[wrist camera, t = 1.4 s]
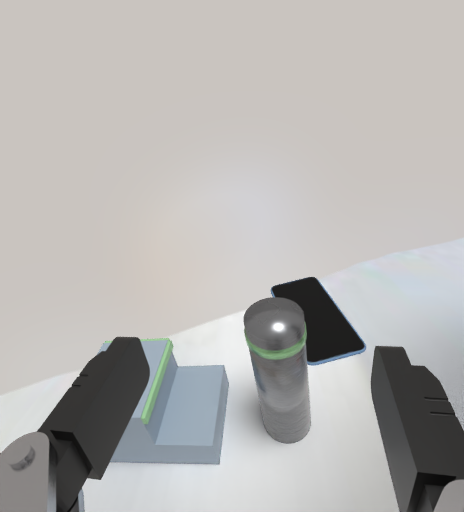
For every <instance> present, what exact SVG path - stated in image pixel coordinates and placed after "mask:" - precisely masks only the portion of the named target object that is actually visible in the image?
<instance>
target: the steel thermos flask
mask: <svg viewBox="0 0 464 512" xmlns="http://www.w3.org/2000/svg"><path fill="white" fill-rule="evenodd" d="M244 325H245V329H244V332H245V337H246V342H247V345H248V347H249V351H250V356H251V361H252V366H253V371H254V376H255V381H256V386H257V391H258V396H259V401H260V406H261V411H262V416H263V421H264V426H265V429H266V431H267V432H268V434H269V435H270V436H271V437H272V438H274V439H275V440H277V441H279V442H282V443H295V442H298V441H300V440H301V439H303V438H304V437H305V436H306V435H307V433H308V431H309V429H310V425H311V417H310V401H309V385H308V369H307V354H306V339H307V332H306V323H305V321H304V313H303V310H302V309H301V307H300V306H299V305H298V304H297V303H295V302H293V301H291V300H289V299H285V298H279V297H273V298H266V299H262V300H260V301H258V302H256V303H254V304H253V305H251V306H250V307H249V308H248V309H247V311H246V313H245V315H244Z"/></svg>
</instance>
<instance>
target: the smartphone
mask: <svg viewBox="0 0 464 512" xmlns="http://www.w3.org/2000/svg"><path fill="white" fill-rule="evenodd" d="M271 294H272V296H273V297H279V298H285V299H289V300H291V301H293V302H295V303H297V304H298V305H299V306H300V307H301V309H302V310H303V313H304V321H305V323H306V332H307V339H306V354H307V364H308V365H319V364H322V363H325V362H329V361H334V360H336V359H339V358H345V357H348V356H351V355H352V356H353V355H355V354H360V353H362V352H364V351H365V350H366V345H365V343H364V341H363V340H362V339H361V337H360V336H359V335H358V333H357V332H356V330H355V329H354V328H353V326H352V325H351V324H350V322H349V321H348V320H347V318H346V317H345V316H344V314H343V313H342V312H341V310H340V309H339V307H338V306H337V305H336V303H335V302H334V301H333V299H332V298H331V296H330V295H329V294H328V292H327V291H326V290H325V288H324V287H323V286H322V284H321V283H320V282H319V280H318V279H316V278H315V277H308V278H304V279H300V280H296V281H292V282H287V283H283V284H279V285H276V286H273V287H272V288H271Z"/></svg>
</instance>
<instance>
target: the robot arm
mask: <svg viewBox="0 0 464 512" xmlns="http://www.w3.org/2000/svg"><path fill="white" fill-rule="evenodd" d="M149 377H150V367H149V364H148V361H147V358H146V356H145V353H144V350H143V347H142V344H141V341H140V339H139V338H136V337H116V338H115V339H114V340H113V341H112V343H111V344H110V345H109V347H108V348H107V350H106V351H101V352H100V353H99V354H98V355H96V356H95V357H94V358H93V359H92V360H90V361H89V362H88V363H87V365H86V366H85V368H84V369H83V370H82V372H81V373H80V376H79V377H77V378H76V380H75V381H74V382H73V384H72V387H70V388H69V389H68V391H67V392H66V393H65V395H64V396H63V397H62V399H61V400H60V401H59V403H58V404H57V405H56V407H55V408H54V409H53V411H52V412H51V414H50V415H49V416H48V418H47V419H46V420H45V422H44V423H43V424H42V426H41V427H40V428H39V429H38V431H37V432H33V433H29V434H26V435H24V436H22V437H20V438H18V439H17V440H15V441H14V442H12V443H11V444H10V445H9V446H8V447H7V448H5V450H4V451H3V452H2V453H0V512H85V510H84V495H83V490H82V486H83V485H84V483H85V481H86V479H87V478H91V479H98V480H101V478H102V476H103V474H104V472H105V470H106V468H107V466H108V464H109V462H110V460H111V458H112V456H113V454H114V452H115V450H116V448H117V446H118V444H119V442H120V440H121V438H122V436H123V433H124V431H125V429H126V427H127V425H128V423H129V421H130V419H131V417H132V415H133V413H134V411H135V409H136V407H137V405H138V403H139V401H140V399H141V397H142V395H143V393H144V391H145V389H146V387H147V384H148V382H149ZM371 393H372V399H373V404H374V408H375V412H376V416H377V420H378V424H379V428H380V433H381V437H382V441H383V445H384V449H385V453H386V457H387V461H388V466H389V470H390V474H391V478H392V482H393V486H394V490H395V494H396V499H397V503H398V507H399V511H400V512H464V431H463V429H462V427H461V424H460V422H459V420H458V418H457V417H456V416H455V412H454V410H453V408H452V406H451V404H450V402H448V398H447V395H446V393H445V391H444V389H443V387H442V385H441V383H440V381H439V380H438V379H437V378H436V377H435V376H434V375H433V374H432V373H431V372H430V371H429V370H428V369H427V368H426V367H425V366H413V365H411V364H410V361H409V359H408V356H407V354H406V351H405V350H404V348H403V347H390V346H376V347H375V350H374V358H373V367H372V375H371Z"/></svg>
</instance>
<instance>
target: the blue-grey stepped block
mask: <svg viewBox="0 0 464 512" xmlns="http://www.w3.org/2000/svg"><path fill="white" fill-rule="evenodd" d="M140 341H141V344H142V347H143V350H144V353H145V356H146V358H147V361H148V364H149V367H150V377H149V382H148V384H147V387H146V389H145V391H144V393H143V395H142V397H141V399H140V401H139V403H138V405H137V407H136V409H135V411H134V413H133V415H132V417H131V419H130V421H129V423H128V425H127V427H126V429H125V431H124V433H123V436H122V438H121V440H120V442H119V444H118V446H117V448H116V450H115V452H114V454H113V456H112V458H111V460H110V462H143V463H191V464H219V463H220V454H221V446H222V437H223V429H224V420H225V412H226V403H227V395H228V386H229V382H228V379H227V375H226V371H225V367H224V365H213V366H183V367H178V366H177V363H176V360H175V358H174V355H173V353H172V349H173V344H172V341H170V340H169V338H162V339H142V340H140ZM111 343H112V341H105V343H103V345H102V347H101V349H100V350H99V352H98V354H99V353H100V352H101V351H106V350H107V348H108V347H109V345H110V344H111ZM98 354H97V355H98Z"/></svg>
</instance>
